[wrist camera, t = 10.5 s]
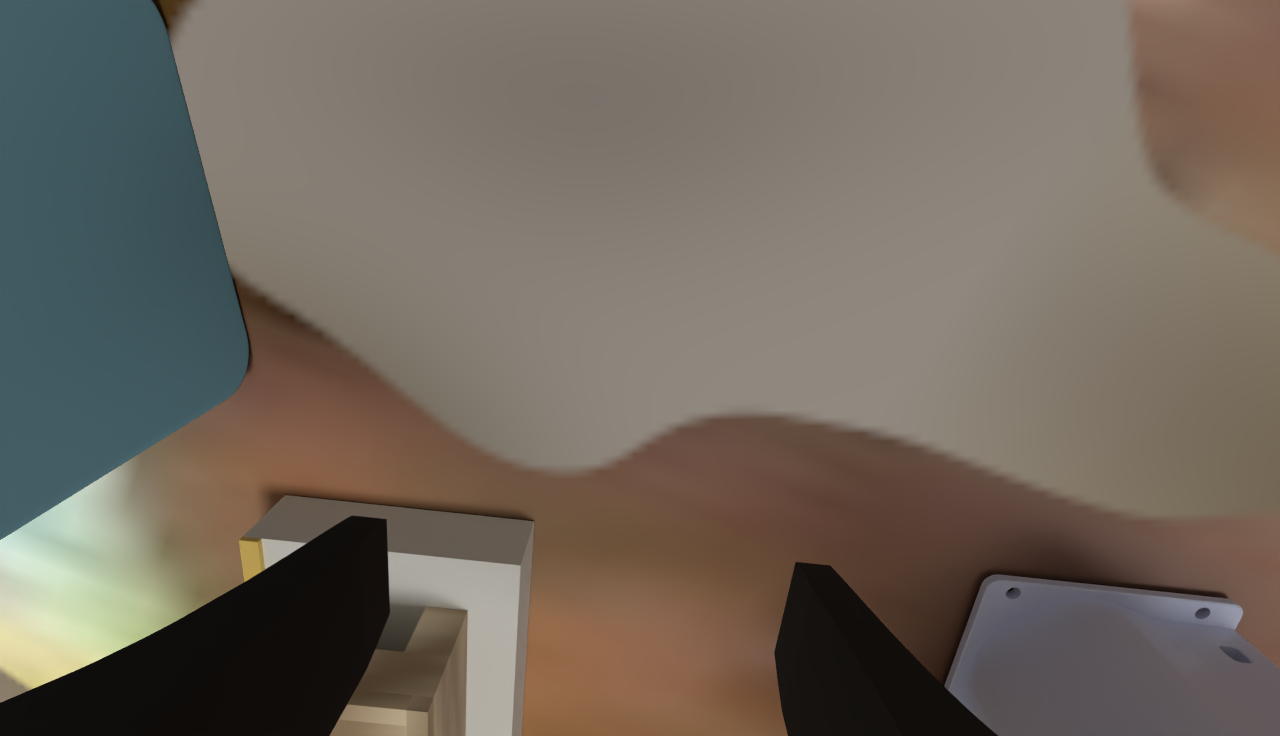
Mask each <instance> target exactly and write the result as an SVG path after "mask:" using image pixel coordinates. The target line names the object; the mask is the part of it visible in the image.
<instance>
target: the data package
mask: <svg viewBox="0 0 1280 736" xmlns="http://www.w3.org/2000/svg"><path fill="white" fill-rule="evenodd" d="M248 360H249V345H248V338H247V333H246V330H245V326H244V322H243V318H242V314H241V310H240V307H239V303H238V299H237V295H236V291H235V288H234V284H233V280H232V276H231V272H230V269H229V265H228V261H227V257H226V253H225V250H224V246H223V242H222V238H221V234H220V230H219V227H218V223H217V219H216V215H215V211H214V207H213V204H212V200H211V196H210V192H209V188H208V185H207V181H206V177H205V173H204V169H203V166H202V162H201V158H200V154H199V150H198V146H197V143H196V139H195V135H194V131H193V128H192V124H191V120H190V116H189V113H188V108H187V104H186V101H185V97H184V93H183V89H182V85H181V82H180V78H179V74H178V71H177V66H176V63H175V59H174V55H173V51H172V47H171V43H170V40H169V36H168V33H167V30H166V27H165V24H164V22H163V19H162V17H161V15H160V13H159V11H158V9H157V7H156V6H155V4H154V2H153V1H152V0H0V540H1V539H3V538H4V537H6V536H7V535H9V534H11V533H12V532H14V531H16V530H17V529H19V528H20V527H22V526H24V525H25V524H27V523H28V522H30V521H32V520H33V519H35V518H36V517H38V516H40V515H41V514H43V513H44V512H46V511H48V510H49V509H51V508H53V507H54V506H56V505H57V504H59V503H61V502H62V501H64V500H65V499H67V498H69V497H70V496H72V495H73V494H75V493H77V492H78V491H80V490H82V489H83V488H85V487H86V486H88V485H90V484H91V483H93V482H94V481H96V480H98V479H99V478H101V477H102V476H104V475H106V474H107V473H109V472H110V471H112V470H114V469H115V468H117V467H119V466H120V465H122V464H123V463H125V462H127V461H128V460H130V459H131V458H133V457H135V456H136V455H138V454H139V453H141V452H143V451H144V450H146V449H148V448H149V447H151V446H152V445H154V444H156V443H157V442H159V441H160V440H162V439H164V438H165V437H167V436H168V435H170V434H172V433H173V432H175V431H177V430H178V429H180V428H181V427H183V426H185V425H186V424H188V423H189V422H191V421H193V420H194V419H196V418H197V417H199V416H201V415H202V414H204V413H205V412H207V411H209V410H210V409H212V408H214V407H215V406H217V405H218V404H220V403H222V402H223V401H225V400H226V399H228V398H229V397H230V396H232V395H233V394H234V393H235V392H236V390H237V389H238V388H239V386H240V385H241V383H242V381H243V379H244V377H245V374H246V371H247V366H248Z"/></svg>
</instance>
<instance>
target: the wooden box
mask: <svg viewBox="0 0 1280 736" xmlns="http://www.w3.org/2000/svg"><path fill="white" fill-rule="evenodd" d="M467 626H468V610H459V609H450V608H440V607H430V606H426V607H425V609H424V612H423V614H422V616H421V618H420V620H419V622H418V624H417V626H416V628H415V630H414V632H413V634H412V636H411V638H410V641H409V643H408V645H407V647H406V649H405V651H404V652H401V651H391V650H381V649H375V651H374V654H373V656H372V658H371V661H370V663H369V665H368V668H367V670H366V671H365V673H364V675H363V677H362V679H361V681H360V682H359V684H358V686H357V688H356V690H355V691H354V693H353V695H352V697H351V699H350V700H349V702H348V704H347V706H346V708H345V709H344V711H343V713H342V715H341V716H340V718H339V720H338V722H337V723H336V725H335V727H334V729H333V730H332V732H331V734H330V736H466V684H467Z"/></svg>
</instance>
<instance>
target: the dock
mask: <svg viewBox="0 0 1280 736" xmlns="http://www.w3.org/2000/svg"><path fill="white" fill-rule="evenodd" d="M352 515H353V516H363V517H372V518H382V519H387V542H388V570H389V597H390V615H389V617H388V620H387V622H386V624H385V627H384V629H383V632H382V634H381V637H380V639H379V642H378V644H377V647H376V649H381V650H391V651H401V652H404V651H405V649H406V647H407V645H408V643H409V641H410V638H411V636H412V634H413V632H414V630H415V628H416V626H417V624H418V622H419V620H420V618H421V616H422V614H423V612H424V609H425V607H426V606H430V607H440V608H450V609H459V610H468V626H467V684H466V736H521V735H522V718H523V702H524V685H525V668H526V652H527V635H528V618H529V602H530V585H531V568H532V552H533V535H534V521H526V520H517V519H507V518H498V517H488V516H479V515H469V514H460V513H450V512H441V511H431V510H422V509H413V508H403V507H394V506H384V505H375V504H365V503H356V502H346V501H337V500H327V499H318V498H308V497H299V496H289V495H285V496H284V497H283V498H282V499H281V500H280V501H279V502H278V503H277V504H275V505H274V506H273V507H272V508H271V509H270V510H269V511H268V512H267V513H266V514H265V515H264V516H263V517H262V518H261V519H260V520H259V521H258V522H257V523H256V524H255V525H254V526H253V527H252V528H251V529H250V530H249V531H248V532H247V533H246V534H245V535H244V536H243V537H242V538H241V539H240V540H239V545H240V552H241V560H242V567H243V575H244V582H246V581H247V580H249V579H250V578H252V577H254V576H255V575H257V574H259V573H260V572H262V571H263V570H265V569H267V568H268V567H270V566H271V565H273V564H275V563H276V562H278V561H279V560H281V559H283V558H284V557H286V556H287V555H289V554H291V553H292V552H294V551H295V550H297V549H298V548H300V547H302V546H303V545H305V544H306V543H308V542H309V541H311V540H313V539H314V538H316V537H317V536H319V535H320V534H322V533H323V532H325V531H327V530H328V529H330V528H331V527H333V526H335V525H336V524H338V523H340V522H341V521H343V520H345V519H346V518H348V517H350V516H352Z"/></svg>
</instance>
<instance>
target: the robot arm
mask: <svg viewBox="0 0 1280 736" xmlns="http://www.w3.org/2000/svg"><path fill="white" fill-rule="evenodd" d="M1011 588H1014V589H1013V590H1011V591H1009V592H1007V591H1008V590H1009V589H1011ZM389 615H390V597H389V570H388V542H387V519H382V518H372V517H363V516H353V515H352V516H350V517H348V518H346V519H345V520H343V521H341V522H340V523H338V524H336V525H335V526H333V527H331V528H330V529H328V530H327V531H325V532H323V533H322V534H320V535H319V536H317V537H316V538H314V539H313V540H311V541H309V542H308V543H306V544H305V545H303V546H302V547H300V548H298V549H297V550H295V551H294V552H292V553H291V554H289V555H287V556H286V557H284V558H283V559H281V560H279V561H278V562H276V563H275V564H273V565H271V566H270V567H268V568H267V569H265V570H263V571H262V572H260V573H259V574H257V575H255V576H254V577H252V578H250V579H249V580H247V581H246V582H244V583H242V584H241V585H239V586H237V587H235V588H234V589H232V590H230V591H228V592H227V593H225V594H223V595H221V596H220V597H218V598H216V599H214V600H213V601H211V602H209V603H207V604H206V605H204V606H202V607H200V608H199V609H197V610H195V611H193V612H192V613H190V614H188V615H186V616H185V617H183V618H181V619H179V620H178V621H176V622H174V623H172V624H170V625H168V626H166V627H164V628H163V629H161V630H159V631H157V632H155V633H153V634H151V635H149V636H147V637H145V638H143V639H141V640H139V641H137V642H135V643H133V644H131V645H129V646H127V647H125V648H123V649H121V650H119V651H117V652H115V653H113V654H110V655H108V656H106V657H104V658H102V659H100V660H98V661H96V662H94V663H92V664H89V665H87V666H85V667H83V668H81V669H79V670H76V671H74V672H72V673H69V674H67V675H65V676H62V677H60V678H58V679H55V680H53V681H51V682H48V683H46V684H43V685H41V686H39V687H36V688H34V689H32V690H29V691H27V692H25V693H22V694H20V695H18V696H16V697H13V698H11V699H8V700H6V701H4V702H1V703H0V736H330V734H331V732H332V730H333V729H334V727H335V725H336V723H337V722H338V720H339V718H340V716H341V715H342V713H343V711H344V709H345V708H346V706H347V704H348V702H349V700H350V699H351V697H352V695H353V693H354V691H355V690H356V688H357V686H358V684H359V682H360V681H361V679H362V677H363V675H364V673H365V671H366V670H367V668H368V665H369V663H370V661H371V658H372V656H373V654H374V651H375V649H376V647H377V644H378V642H379V639H380V637H381V634H382V632H383V629H384V627H385V624H386V622H387V620H388V617H389ZM1242 615H1243V610H1242V608H1241V607H1240V606H1239V605H1238V604H1236V603H1235V602H1234V601H1233V600H1231V599H1227V598H1218V597H1208V596H1199V595H1189V594H1180V593H1170V592H1161V591H1151V590H1142V589H1132V588H1123V587H1113V586H1104V585H1094V584H1085V583H1075V582H1066V581H1056V580H1047V579H1037V578H1028V577H1018V576H1009V575H999V574H998V575H992V576H989V577H987V578H986V579H985V580H984V581H983V582H982V584H981V587H980V589H979V592H978V595H977V598H976V600H975V603H974V606H973V609H972V611H971V614H970V617H969V620H968V622H967V625H966V628H965V630H964V633H963V636H962V639H961V641H960V644H959V647H958V650H957V652H956V655H955V658H954V661H953V663H952V666H951V669H950V672H949V674H948V677H947V680H946V682H945V685H944V686H943V685H942V684H941V683H940V682H939V681H938V680H937V679H936V678H935V677H934V676H933V675H932V674H931V673H930V672H929V671H928V670H927V669H926V668H925V667H924V666H923V665H922V664H921V663H920V662H919V661H918V660H917V659H916V658H915V657H914V656H913V655H912V654H911V653H910V652H909V651H908V650H907V649H906V648H905V647H904V646H903V645H902V643H901V642H900V641H899V640H898V639H897V638H896V637H895V636H894V635H893V634H892V633H891V632H890V631H889V630H888V628H887V627H886V626H885V625H884V624H883V623H882V622H881V621H880V620H879V619H878V618H877V616H876V615H875V614H874V613H873V612H872V611H871V610H870V609H869V608H868V607H867V605H866V604H865V603H864V602H863V601H862V600H861V599H860V598H859V597H858V595H857V594H856V593H855V592H854V591H853V590H852V589H851V588H850V586H849V585H848V584H847V583H846V582H845V581H844V580H843V579H842V578H841V577H840V576H839V574H838V573H837V572H836V571H835V570H834V569H833V568H832V567H831V566H829V565H819V564H810V563H800V562H796V563H795V568H794V572H793V576H792V580H791V585H790V589H789V593H788V597H787V601H786V606H785V610H784V614H783V618H782V623H781V627H780V631H779V635H778V640H777V644H776V648H775V652H774V653H775V661H776V669H777V678H778V686H779V693H780V700H781V707H782V712H783V717H784V721H785V725H786V729H787V733H788V736H1280V668H1279V667H1277V666H1276V665H1275V664H1274V663H1273V662H1272V661H1270V660H1269V659H1268V658H1267V657H1266V656H1265V655H1263V654H1262V653H1261V652H1260V651H1259V650H1258V649H1256V648H1255V647H1254V646H1253V645H1252V644H1250V643H1249V642H1248V641H1247V640H1246V639H1245V638H1243V637H1242V636H1241V635H1240V634H1239V633H1238V632H1236V631H1235V629H1236V627H1237V625H1238V623H1239V621H1240V620H1241V618H1242Z"/></svg>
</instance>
